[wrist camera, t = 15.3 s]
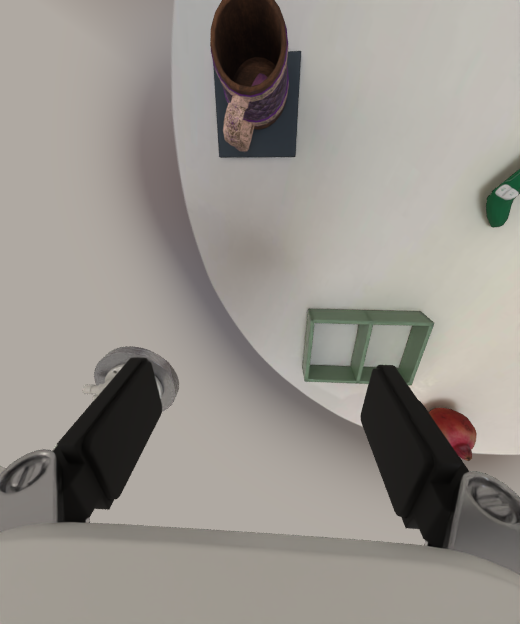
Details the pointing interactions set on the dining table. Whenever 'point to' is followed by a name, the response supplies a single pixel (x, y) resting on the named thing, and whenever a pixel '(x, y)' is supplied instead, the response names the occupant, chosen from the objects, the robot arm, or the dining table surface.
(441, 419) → the fruit
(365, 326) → the divided box
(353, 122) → the dining table surface
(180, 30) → the dining table surface
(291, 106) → the mat
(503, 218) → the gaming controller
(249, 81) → the mug
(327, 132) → the dining table surface
